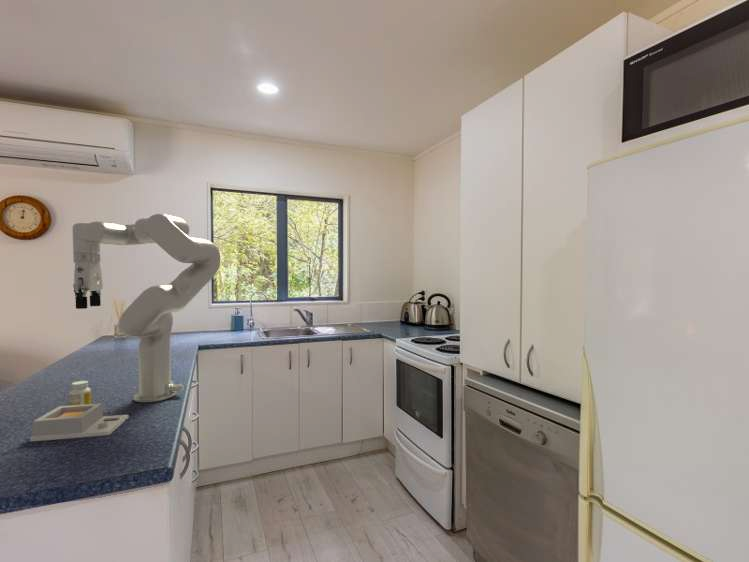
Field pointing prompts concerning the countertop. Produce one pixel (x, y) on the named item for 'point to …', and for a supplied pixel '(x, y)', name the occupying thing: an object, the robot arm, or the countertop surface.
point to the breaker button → (71, 414)
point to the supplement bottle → (80, 393)
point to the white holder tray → (75, 423)
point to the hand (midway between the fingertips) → (88, 307)
